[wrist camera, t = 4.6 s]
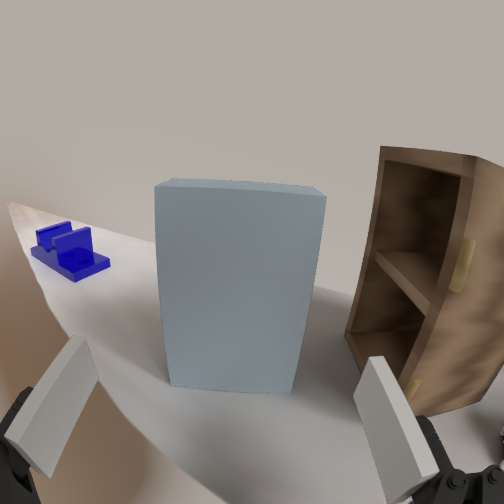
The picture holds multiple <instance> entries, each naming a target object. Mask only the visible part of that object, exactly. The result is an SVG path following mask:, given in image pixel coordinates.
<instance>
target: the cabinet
mask: <svg viewBox="0 0 504 504" xmlns="http://www.w3.org/2000/svg"><path fill="white" fill-rule="evenodd" d="M344 336H345V338H346V340H347V342H348V345H349V347H350V349H351V352H352V354H353V356H354V359H355V361H356V363H357V366H358V368H359V370H360V373H361V375H362V374H363V371H364V369H365V366H366V364H367V361H368V359H369V357H376V356H384V358H385V360H386V362H387V364H388V366H389V367H390V369H391V371H392V373H393V375H394V377H395V379H396V381H397V383H398V384H399V386H400V388H401V390H402V392H403V394H404V396H405V398H406V400H407V402H408V404H409V406H410V408H411V410H412V412H413V414H414V416H419V415H424V416H425V417H426V418H427V417H430V416H434V415H438V414H441V413H445V412H448V411H452V410H455V409H458V408H461V407H464V406H467V405H470V404H473V403H476V402H479V401H480V400H481V399H482V397H483V396H484V395H485V393H486V392H487V390H488V389H489V387H490V385H491V384H492V382H493V381H494V379H495V378H496V376H497V374H498V373H499V371H500V369H501V368H502V366H503V364H504V167H501V166H499V165H497V164H494V163H492V162H490V161H487V160H485V159H482V158H479V157H477V156H471V155H465V154H458V153H450V152H442V151H435V150H425V149H415V148H403V147H389V146H380V156H379V165H378V173H377V181H376V188H375V196H374V202H373V209H372V215H371V220H370V226H369V232H368V237H367V243H366V247H365V252H364V257H363V262H362V267H361V271H360V276H359V280H358V284H357V289H356V293H355V297H354V301H353V305H352V308H351V312H350V316H349V320H348V323H347V327H346V330H345V334H344Z"/></svg>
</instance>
